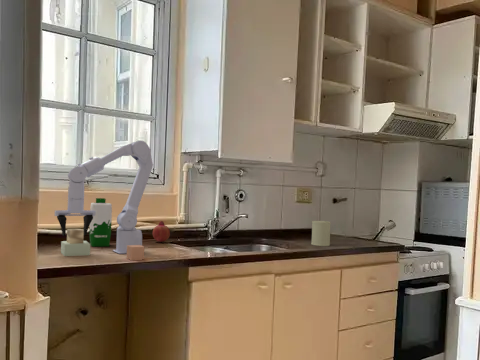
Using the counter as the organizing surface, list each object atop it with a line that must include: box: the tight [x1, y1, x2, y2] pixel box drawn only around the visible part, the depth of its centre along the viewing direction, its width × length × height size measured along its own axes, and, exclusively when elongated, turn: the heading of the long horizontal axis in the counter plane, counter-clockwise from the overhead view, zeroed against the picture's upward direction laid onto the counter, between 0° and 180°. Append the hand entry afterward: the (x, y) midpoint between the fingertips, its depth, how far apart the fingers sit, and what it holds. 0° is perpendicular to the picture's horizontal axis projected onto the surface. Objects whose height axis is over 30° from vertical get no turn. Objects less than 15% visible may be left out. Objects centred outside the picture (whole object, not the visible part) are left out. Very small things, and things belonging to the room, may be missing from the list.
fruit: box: [152, 220, 171, 243], centre depth 214 cm, size 8×8×10 cm
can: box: [310, 220, 332, 247], centre depth 229 cm, size 9×9×12 cm
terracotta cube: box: [126, 245, 146, 261], centre depth 167 cm, size 5×5×5 cm
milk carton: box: [88, 197, 113, 248], centre depth 196 cm, size 9×9×20 cm
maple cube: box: [66, 228, 85, 244], centre depth 173 cm, size 5×5×5 cm
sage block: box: [60, 240, 91, 257], centre depth 173 cm, size 9×9×4 cm
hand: (74, 235), depth 173 cm, fingers open, 7 cm apart
